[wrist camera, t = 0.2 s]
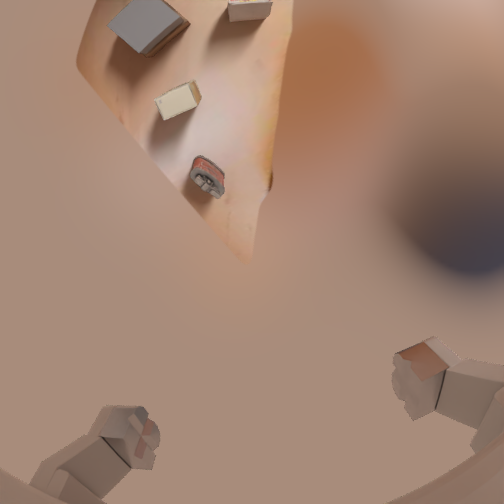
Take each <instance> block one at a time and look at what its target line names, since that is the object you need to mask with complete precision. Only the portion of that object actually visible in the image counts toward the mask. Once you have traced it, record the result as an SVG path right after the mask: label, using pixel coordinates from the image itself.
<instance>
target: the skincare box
mask: <svg viewBox="0 0 504 504" xmlns="http://www.w3.org/2000/svg"><path fill="white" fill-rule="evenodd" d="M201 98H202V96H201V94H200V91H199V88H198V86H197V84H196V81H195V80H192V81H190V82H187V83H185V84H182V85H180V86H178V87H176V88H173V89H171V90H169V91H167V92H166V93H164V94H162V95H160V96H159V97H157V98H155V99H154V101H155V103H156V105H157V108H158V110H159V112H160V114H161V116H162V118H163V120H167V119H169V118H172V117H174V116H176V115H179V114H181V113H183V112H185V111H188V110H190V109H192V108H194V107H196V106H197V105H198V103H199V102H200V100H201Z"/></svg>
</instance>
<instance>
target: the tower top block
mask: <svg viewBox="0 0 504 504" xmlns="http://www.w3.org/2000/svg"><path fill="white" fill-rule="evenodd" d="M183 21H184V20H183V19H182V18H181V17H180V16H179V15H178V14H177V13H175V12H174V11H173V10H172V9H171V8H170V7H168V6H167V5H166V4H165V3H164V2H162V1H161V0H132V1H131V2H130V3H129V4H128V5H127V6H126V7H125V8H124V9H123V10H122V11H121V12H120V13H119V14H118V15H117V16H116V17H115V18H114V19H113V20H112V21H111V22H110V23H109V24H108V25H107V26H108V27H109V28H110V29H111V30H112V31H114V32H115V33H116V34H117V35H118V36H119V37H121V38H122V39H123V40H124V41H125V42H126V43H128V44H129V45H130V46H131V47H132V48H133V49H134V50H136V51H137V52H138V53H145V54H147V53H148V52H149V51H150V50H151V49H152V48H153V47H154V46H155V45H156V44H157V43H159V42H160V41H161V40H162V39H163V38H164V37H165V36H167V35H168V34H169V33H170V32H171V31H172V30H174V29H175V28H176V27H177V26H178V25H180V24H181V23H182V22H183Z"/></svg>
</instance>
